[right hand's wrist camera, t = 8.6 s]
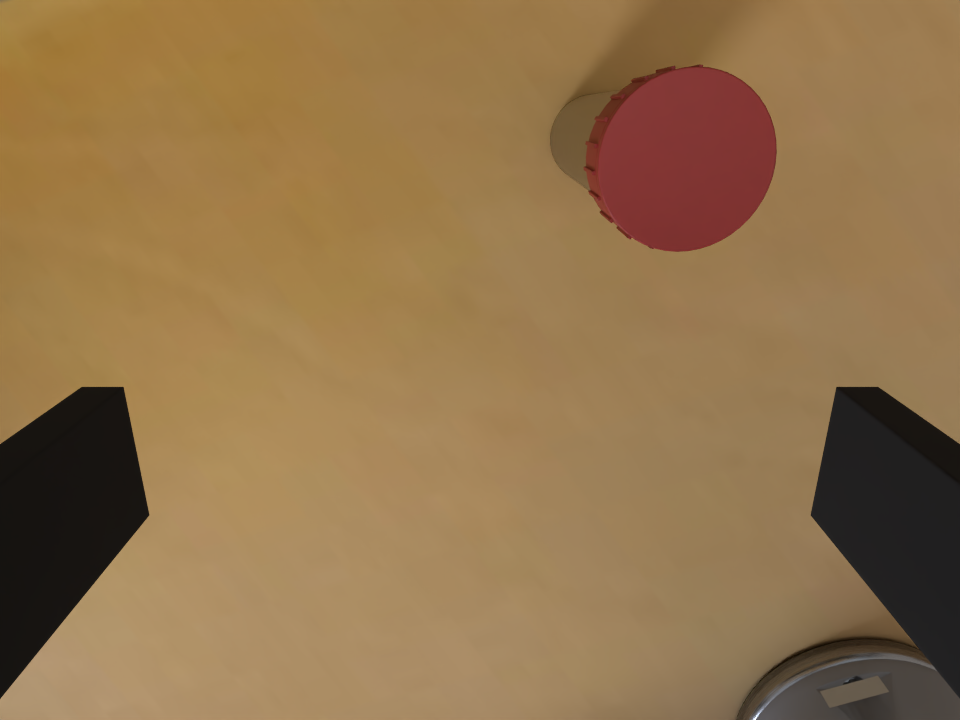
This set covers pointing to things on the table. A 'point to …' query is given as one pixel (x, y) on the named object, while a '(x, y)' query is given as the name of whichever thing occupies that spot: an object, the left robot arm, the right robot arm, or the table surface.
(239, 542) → the table surface
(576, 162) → the bottle
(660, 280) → the table surface
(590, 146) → the lid
